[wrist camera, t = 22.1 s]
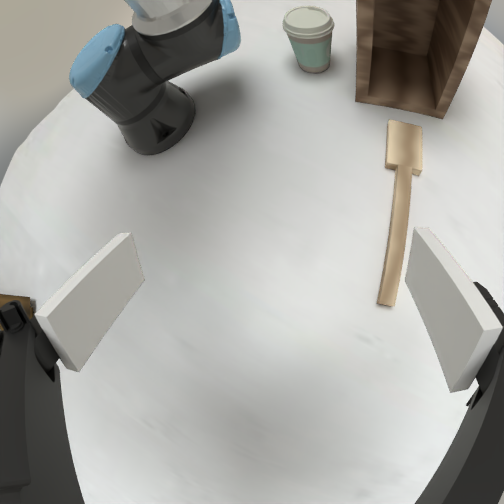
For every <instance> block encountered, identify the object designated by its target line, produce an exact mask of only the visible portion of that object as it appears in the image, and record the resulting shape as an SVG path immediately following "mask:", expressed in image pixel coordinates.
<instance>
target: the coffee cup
mask: <svg viewBox="0 0 504 504" xmlns="http://www.w3.org/2000/svg"><path fill="white" fill-rule="evenodd" d="M283 29H284V31H285V32H286V33H287V35H288V37H289V40H290V42H291V45H292V47H293V50H294V53H295V55H296V58H297V60H298V63H299V66H300V67H301V69H303V70H304V71H306V72H310V73H319V72H322V71H324V70H326V69H327V68H328V67H329V64H330V53H331V41H332V30H333V29H334V22H333V19H332V18H331V17H330V15H329V13H328V12H327V11H326V10H324V9H322V8H320V7H316V6H300V7H296V8H293V9H291V10H289V11H288V12H287V13H286V14H285V16H284V20H283Z"/></svg>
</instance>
